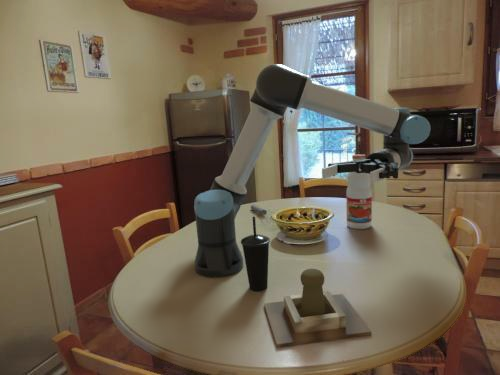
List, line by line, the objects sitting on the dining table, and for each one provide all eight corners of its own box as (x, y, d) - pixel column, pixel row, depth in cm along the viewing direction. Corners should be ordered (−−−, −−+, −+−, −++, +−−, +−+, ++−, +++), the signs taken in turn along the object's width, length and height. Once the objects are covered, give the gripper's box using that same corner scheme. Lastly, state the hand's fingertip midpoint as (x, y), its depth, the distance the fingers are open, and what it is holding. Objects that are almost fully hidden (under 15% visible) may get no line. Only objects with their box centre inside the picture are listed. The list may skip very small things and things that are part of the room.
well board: (277, 347, 73) (276, 332, 72) (264, 306, 89) (263, 293, 88) (371, 334, 75) (371, 319, 74) (342, 296, 91) (342, 283, 90)
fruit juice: (368, 221, 146) (368, 152, 140) (374, 229, 137) (375, 155, 131) (344, 222, 147) (343, 154, 141) (349, 230, 138) (348, 157, 132)
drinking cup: (256, 278, 104) (251, 211, 99) (277, 285, 99) (274, 215, 95) (238, 289, 98) (233, 218, 94) (261, 297, 93) (256, 223, 89)
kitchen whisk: (257, 207, 178) (256, 195, 177) (286, 227, 147) (285, 212, 146) (245, 209, 176) (244, 197, 175) (272, 230, 145) (271, 215, 144)
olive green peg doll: (327, 324, 78) (326, 278, 76) (299, 323, 80) (297, 277, 77) (327, 309, 84) (326, 265, 82) (300, 308, 85) (299, 265, 83)
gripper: (426, 179, 100) (394, 195, 85) (344, 172, 117) (306, 184, 102) (427, 152, 98) (394, 163, 83) (344, 149, 115) (305, 158, 100)
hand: (346, 175), depth 93 cm, fingers open, 13 cm apart
